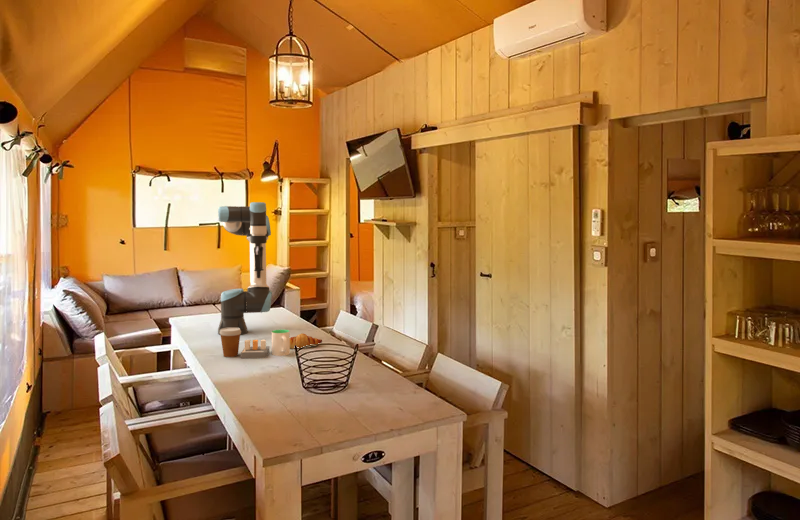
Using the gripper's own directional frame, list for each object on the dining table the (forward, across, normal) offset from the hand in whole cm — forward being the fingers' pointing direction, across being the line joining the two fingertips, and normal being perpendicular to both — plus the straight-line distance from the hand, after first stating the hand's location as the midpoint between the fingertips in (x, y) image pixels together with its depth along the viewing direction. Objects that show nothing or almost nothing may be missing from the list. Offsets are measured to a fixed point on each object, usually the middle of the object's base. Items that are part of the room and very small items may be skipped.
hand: (259, 284), depth 281 cm
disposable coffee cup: (+31, +15, -11) cm, 36 cm away
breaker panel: (+30, +15, 0) cm, 34 cm away
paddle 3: (+28, +15, +4) cm, 32 cm away
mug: (+31, +15, +12) cm, 36 cm away
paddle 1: (+28, +15, -4) cm, 32 cm away
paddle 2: (+28, +15, 0) cm, 32 cm away
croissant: (+31, 0, +19) cm, 36 cm away
